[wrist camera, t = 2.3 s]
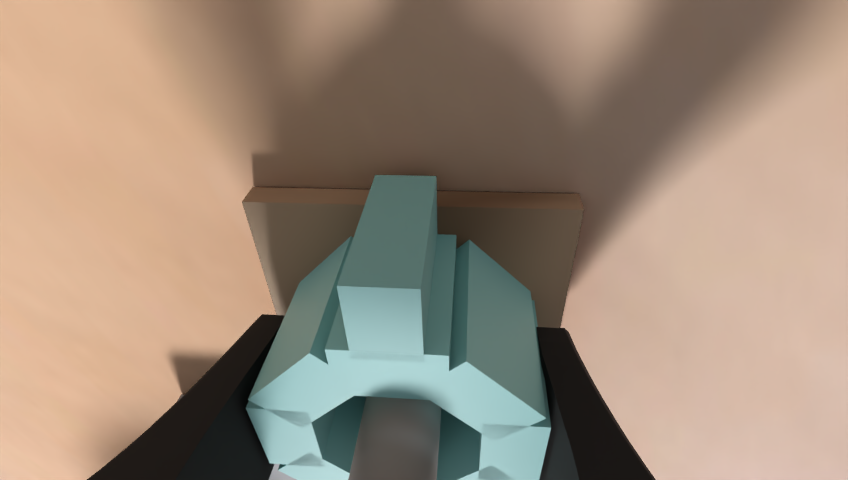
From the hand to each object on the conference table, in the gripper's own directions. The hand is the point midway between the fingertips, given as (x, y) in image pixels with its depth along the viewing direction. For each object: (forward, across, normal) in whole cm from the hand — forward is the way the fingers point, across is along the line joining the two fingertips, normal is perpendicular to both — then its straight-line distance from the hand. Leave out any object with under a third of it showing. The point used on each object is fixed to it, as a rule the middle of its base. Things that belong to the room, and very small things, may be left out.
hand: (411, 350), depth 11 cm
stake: (+1, 0, 0) cm, 1 cm away
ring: (+1, 0, 0) cm, 1 cm away
